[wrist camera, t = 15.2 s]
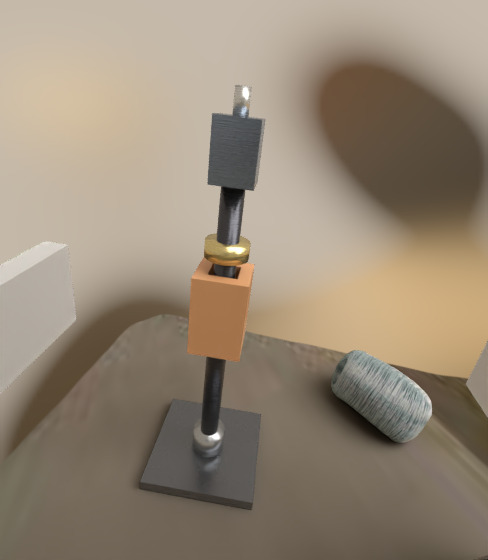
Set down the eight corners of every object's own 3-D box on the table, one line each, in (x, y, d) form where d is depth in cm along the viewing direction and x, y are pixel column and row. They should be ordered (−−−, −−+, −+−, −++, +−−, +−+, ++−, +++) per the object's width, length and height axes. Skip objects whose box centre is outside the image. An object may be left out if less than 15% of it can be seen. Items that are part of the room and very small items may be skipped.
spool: (308, 376, 52) (356, 329, 49) (338, 378, 59) (381, 337, 56) (372, 465, 44) (434, 415, 41) (398, 456, 51) (453, 412, 48)
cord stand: (259, 420, 48) (319, 99, 31) (251, 509, 37) (335, 92, 20) (173, 405, 49) (184, 82, 32) (140, 488, 38) (130, 67, 21)
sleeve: (244, 332, 38) (254, 264, 34) (239, 361, 34) (249, 287, 30) (199, 324, 38) (204, 256, 35) (187, 353, 34) (191, 278, 30)
